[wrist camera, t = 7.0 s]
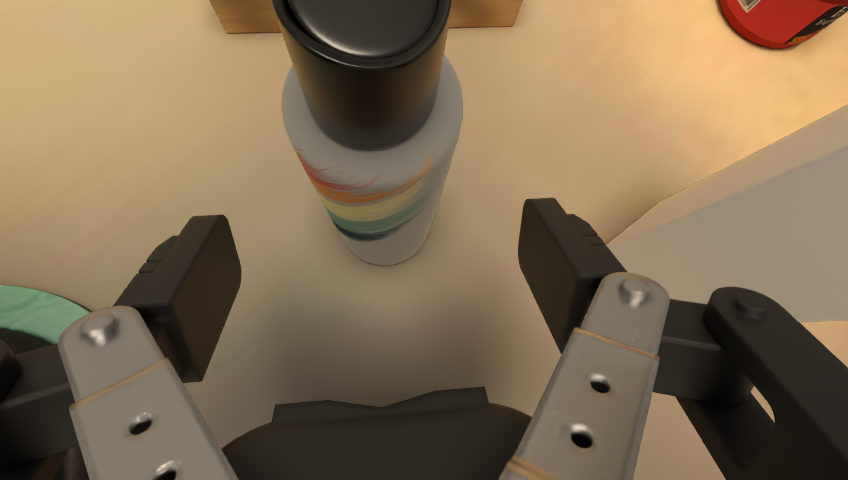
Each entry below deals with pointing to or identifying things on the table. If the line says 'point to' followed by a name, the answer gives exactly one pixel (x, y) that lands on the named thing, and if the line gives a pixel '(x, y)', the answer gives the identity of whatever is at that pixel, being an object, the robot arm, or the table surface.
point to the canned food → (781, 19)
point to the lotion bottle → (372, 115)
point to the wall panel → (253, 12)
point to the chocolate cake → (40, 341)
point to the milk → (757, 227)
